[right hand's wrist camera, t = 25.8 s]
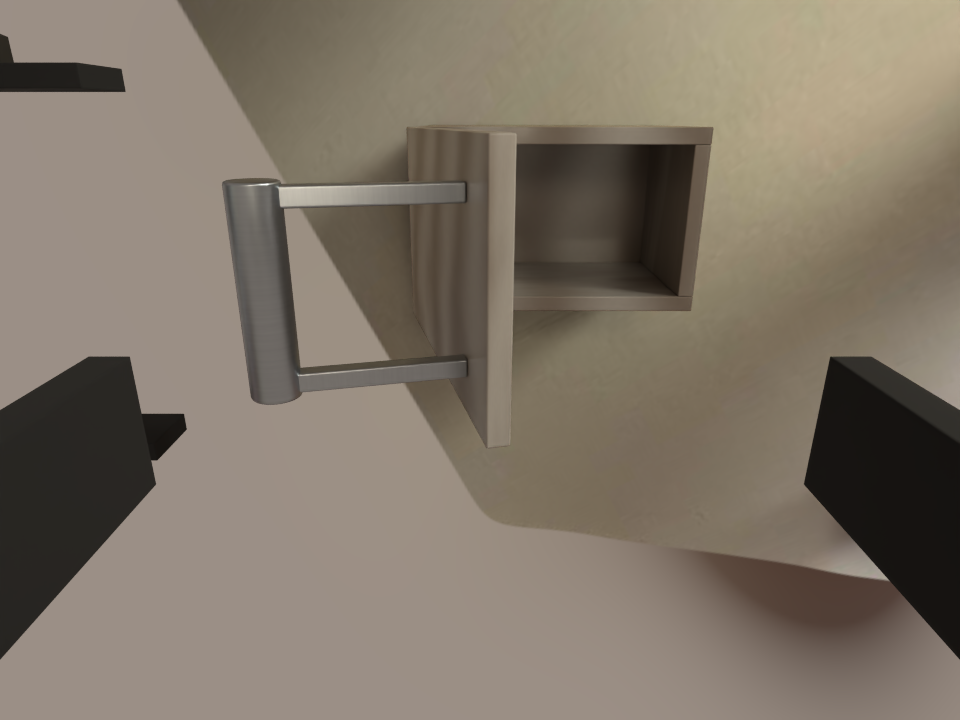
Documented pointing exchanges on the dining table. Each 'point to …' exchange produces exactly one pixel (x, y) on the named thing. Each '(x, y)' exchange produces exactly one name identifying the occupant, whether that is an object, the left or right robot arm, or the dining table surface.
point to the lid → (435, 273)
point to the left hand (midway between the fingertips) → (141, 275)
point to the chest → (606, 215)
